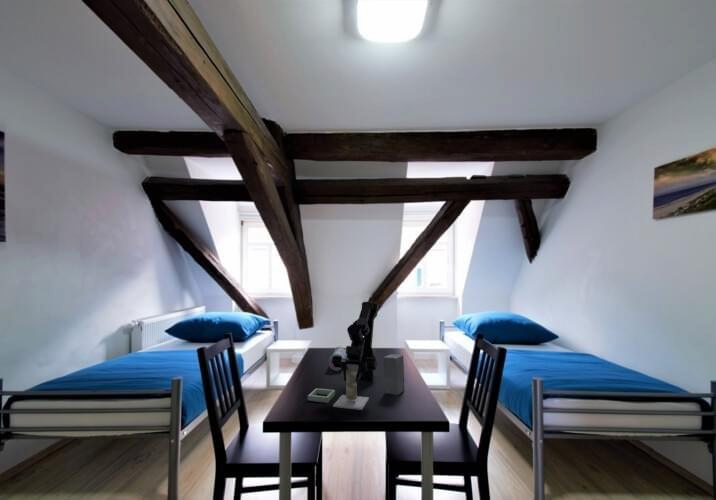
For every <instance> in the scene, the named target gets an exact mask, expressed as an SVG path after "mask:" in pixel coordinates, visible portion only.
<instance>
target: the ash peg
mask: <svg viewBox="0 0 716 500" xmlns="http://www.w3.org/2000/svg"><path fill="white" fill-rule="evenodd" d="M357 372H358V369H354V368H353V369H352V368H350V369H349V368H348V370H346V382H345V395H346V399H348V400H355V399H357V396H358V382H356V376H357Z"/></svg>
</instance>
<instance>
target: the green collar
mask: <svg viewBox="0 0 716 500" xmlns="http://www.w3.org/2000/svg"><path fill="white" fill-rule="evenodd" d="M335 395H336V390H335V389H328V388H315V389H313V390H312V392H310V393H309V394H308V395H307V401H309V402H319V403H326V404H329V402H330V401H331V400H332V399H333V398H334V397H335Z"/></svg>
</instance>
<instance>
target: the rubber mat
mask: <svg viewBox="0 0 716 500" xmlns="http://www.w3.org/2000/svg"><path fill="white" fill-rule="evenodd" d="M369 400H370V397H368V396H358V395H357V399H355V400H348V399H346V394H342V395H341V396H340V397H339V398H338V399H337V401H335V403H333V405H332V407H333V408H338V409H339V408H341V409H349V410H357V411H359V410H360V411H363V409H364V407H365V406H366V404H367V403H368V401H369Z"/></svg>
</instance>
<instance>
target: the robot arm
mask: <svg viewBox="0 0 716 500" xmlns="http://www.w3.org/2000/svg"><path fill="white" fill-rule="evenodd" d="M379 310H380V305H379V303H377V302H372V301H362V303H361V309H360V313H359V315H358V318H357V319H356V320H355V321H353V322H352V324H350V325H349V326H348V327H347V330H346V331H347V334H348V338H349V339H350V341H351V343H350V345H347V346H346V348H345V350H346V354H347V359H345V358H342V356H335V355H334V356H333V357H332V363H333V365H334V367H336V368H341V370H342V373H343V380H344V382H345V383H346V370H349V367H348V365H354V366H358V367H357V368H358V369H357V376H356V382H357V383H358V382H359V380H360V381H368V382H369V381H370V382H373V380H375V378H376V376H375V371H376V370H377V367H378V362H377V357H376V355H375V351H374V349H373V338H374V337H373V336H374V335H373V334H374V322H375V319H376V318H377V316H378V312H379Z"/></svg>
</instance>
